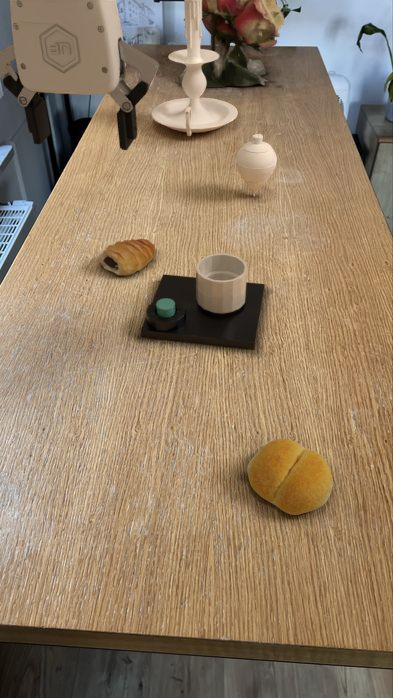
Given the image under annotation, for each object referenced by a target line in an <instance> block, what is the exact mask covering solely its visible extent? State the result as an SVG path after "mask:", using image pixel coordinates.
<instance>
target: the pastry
mask: <svg viewBox="0 0 393 698" xmlns="http://www.w3.org/2000/svg"><path fill="white" fill-rule="evenodd" d="M155 255H156V247H155V245H154V244H153V242H151V241H150V240H149V239H146V238H137V239H134V238H132V239H129V240H128V239H124V240H123V241H116V242H115V243H114V244H112V245H111V244H109V245H107V247H106V248H105V249H104V250H103V252H102V253H101V255H100V257H99V263H100V264H101V266H102V268H103V269H104V270H106V271H109V272H111V273H113V274H115V275H116V276H130V275H134V274H135V273H136V272H139V271H141V270H143V269H144V267H146V266H147V265H148V264H150V262H151V261H152V260H153V259H154V257H155Z"/></svg>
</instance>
